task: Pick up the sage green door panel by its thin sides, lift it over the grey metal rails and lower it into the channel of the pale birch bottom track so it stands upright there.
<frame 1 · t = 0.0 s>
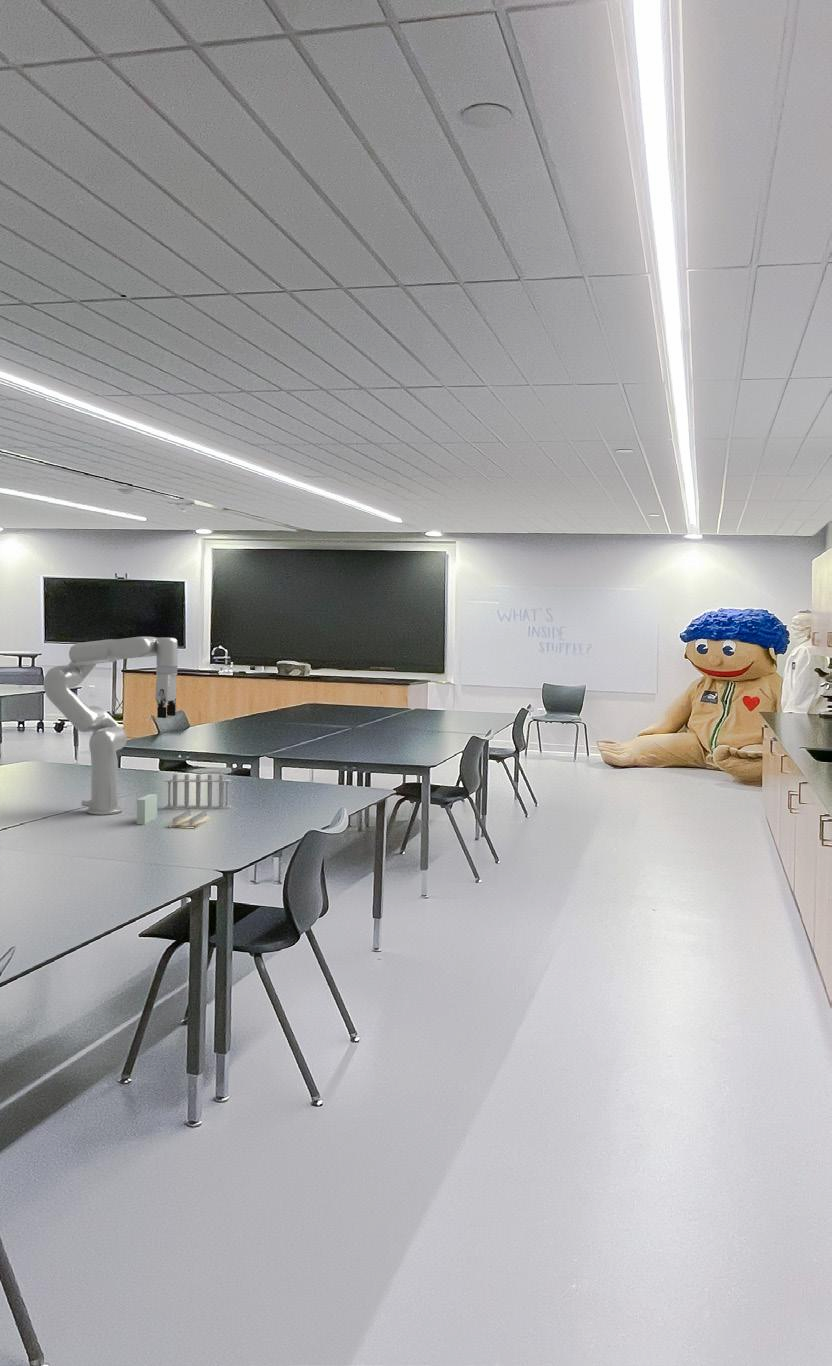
hand: (166, 716, 369), 37 cm above the table, tool pointing down, fingers open, 9 cm apart
door panel: (147, 821, 357), on the table
test tube rack: (198, 808, 386), on the table
bottom track: (190, 823, 355), on the table
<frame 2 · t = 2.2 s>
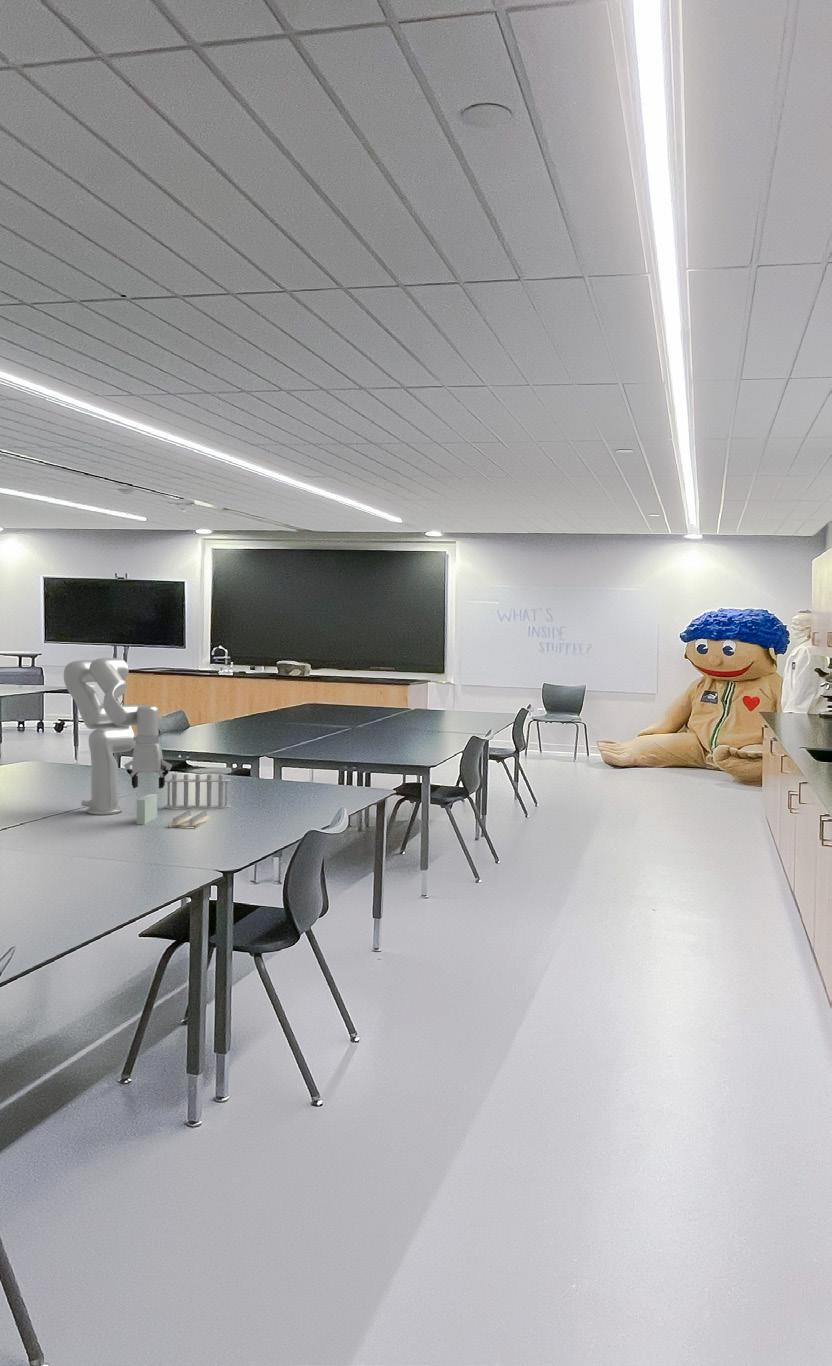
hand: (148, 787, 356), 12 cm above the table, tool pointing down, fingers open, 9 cm apart
nothing on the table moved.
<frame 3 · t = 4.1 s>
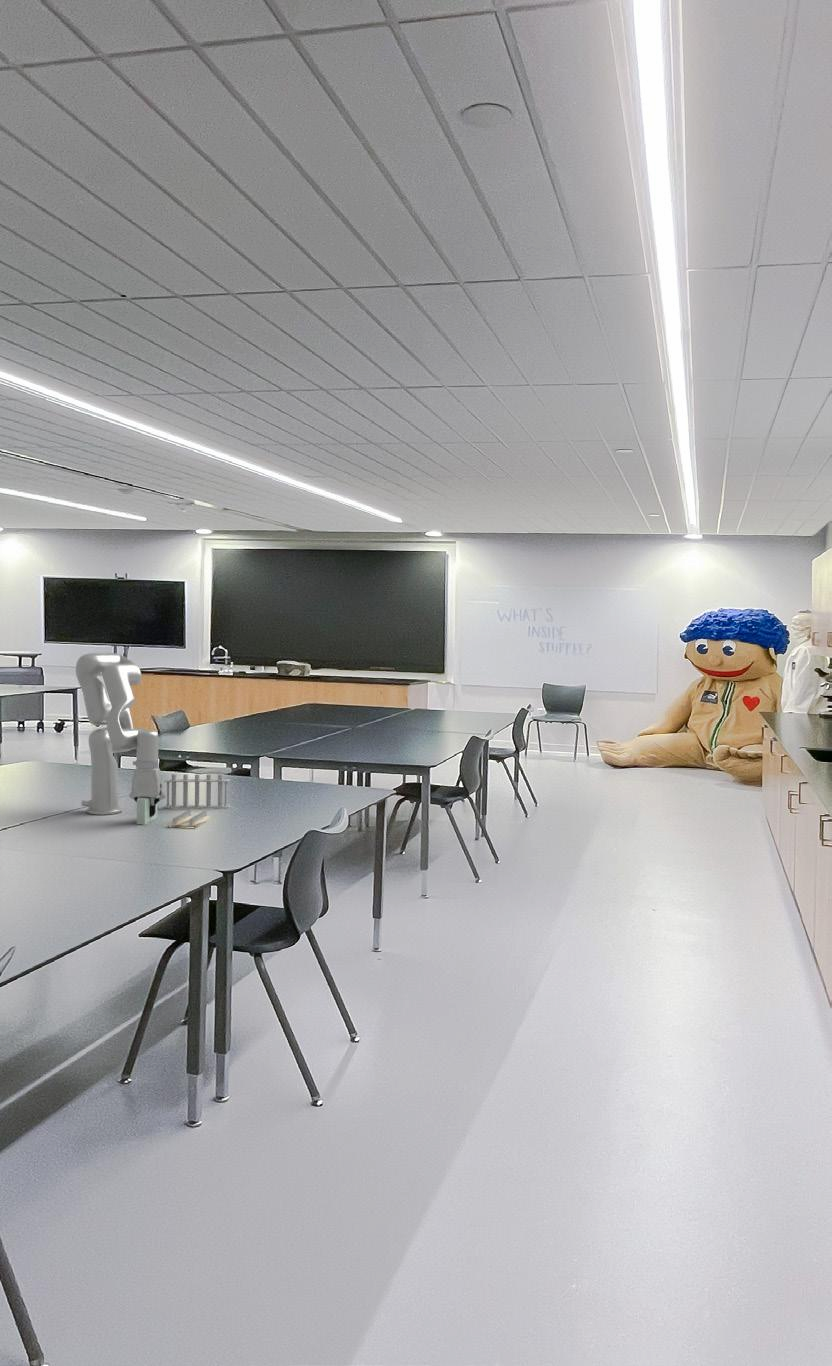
hand: (147, 815, 357), 2 cm above the table, tool pointing down, fingers closed on door panel, 3 cm apart
door panel: (147, 821, 357), on the table, touching gripper
everything else where it was.
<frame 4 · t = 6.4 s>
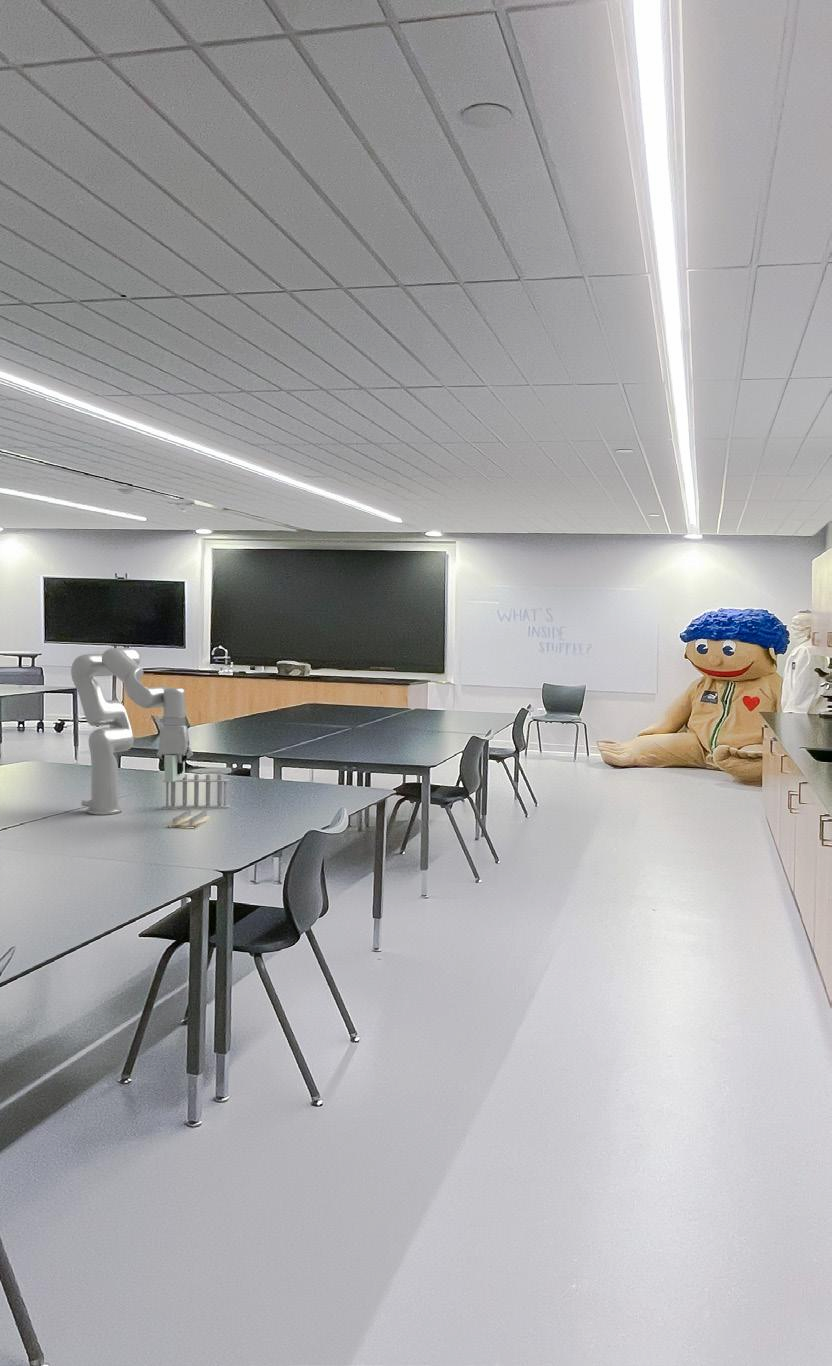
hand: (175, 773, 355), 18 cm above the table, tool pointing down, fingers closed on door panel, 3 cm apart
door panel: (174, 779, 355), point 16 cm above the table, touching gripper
everything else where it was.
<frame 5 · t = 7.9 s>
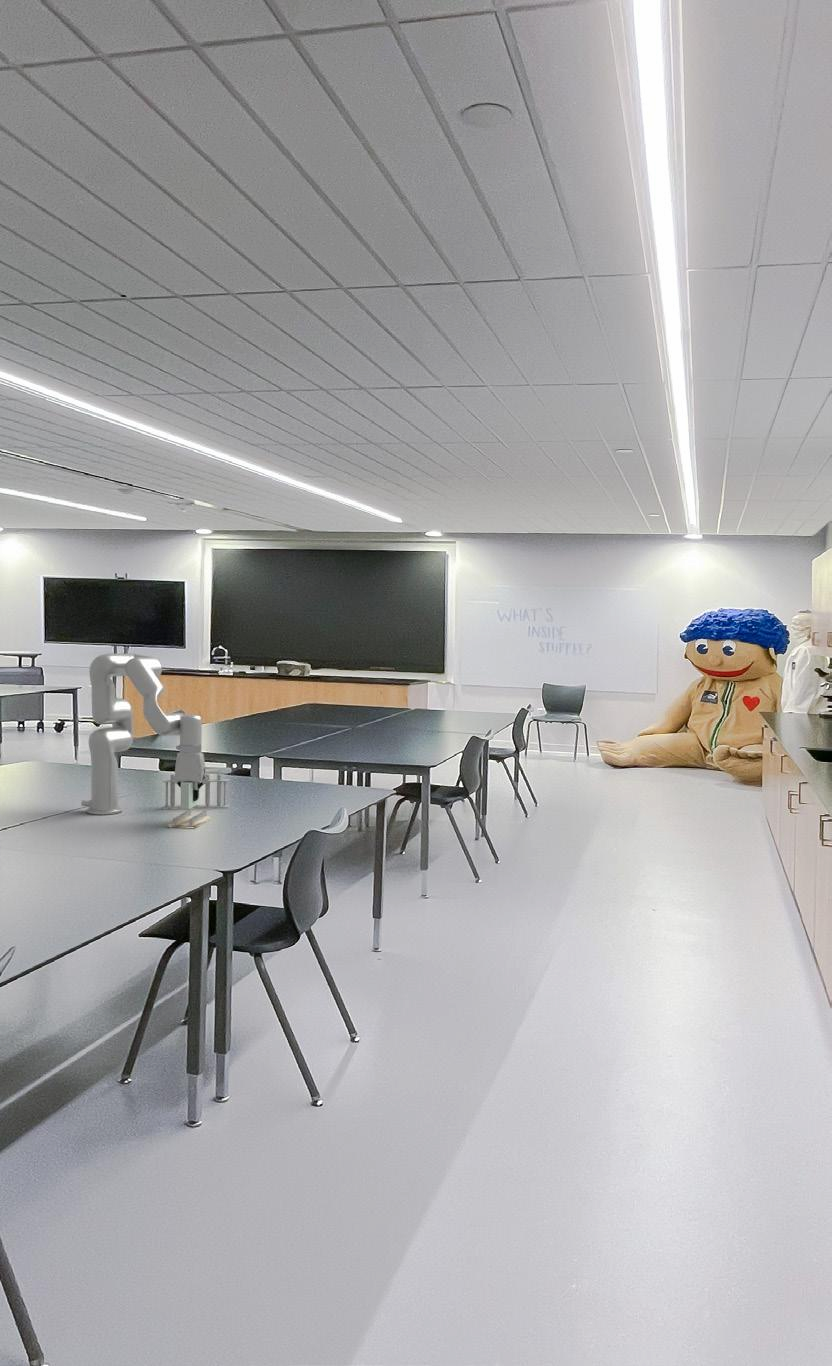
hand: (190, 799, 355), 8 cm above the table, tool pointing down, fingers closed on door panel, 3 cm apart
door panel: (190, 806, 355), point 6 cm above the table, touching gripper
everything else where it was.
when the fingers open (5 cm above the table, at t = 8.9 s): door panel drops 1 cm, resting on bottom track.
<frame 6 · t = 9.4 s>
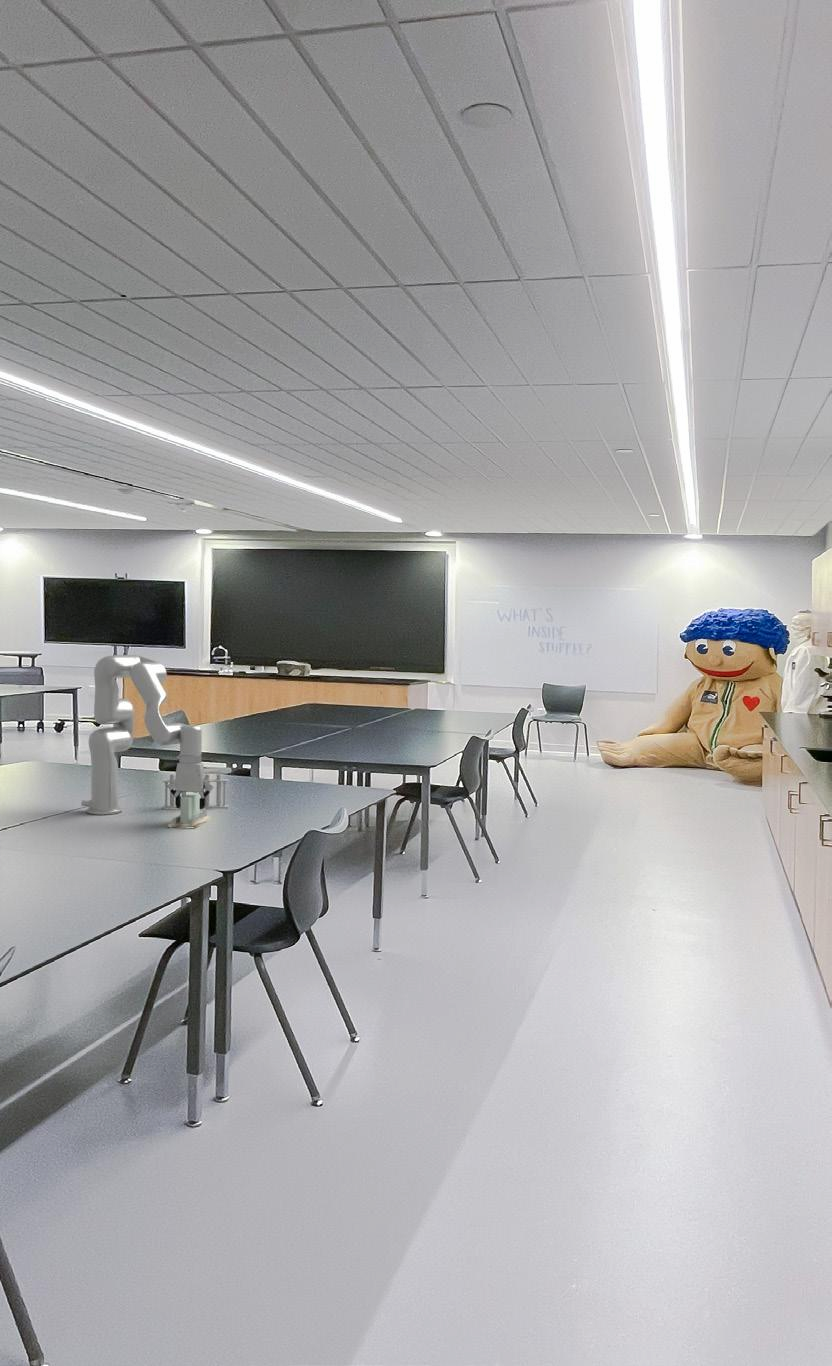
hand: (190, 808, 355), 5 cm above the table, tool pointing down, fingers open, 8 cm apart
door panel: (190, 820, 355), point 1 cm above the table, touching bottom track
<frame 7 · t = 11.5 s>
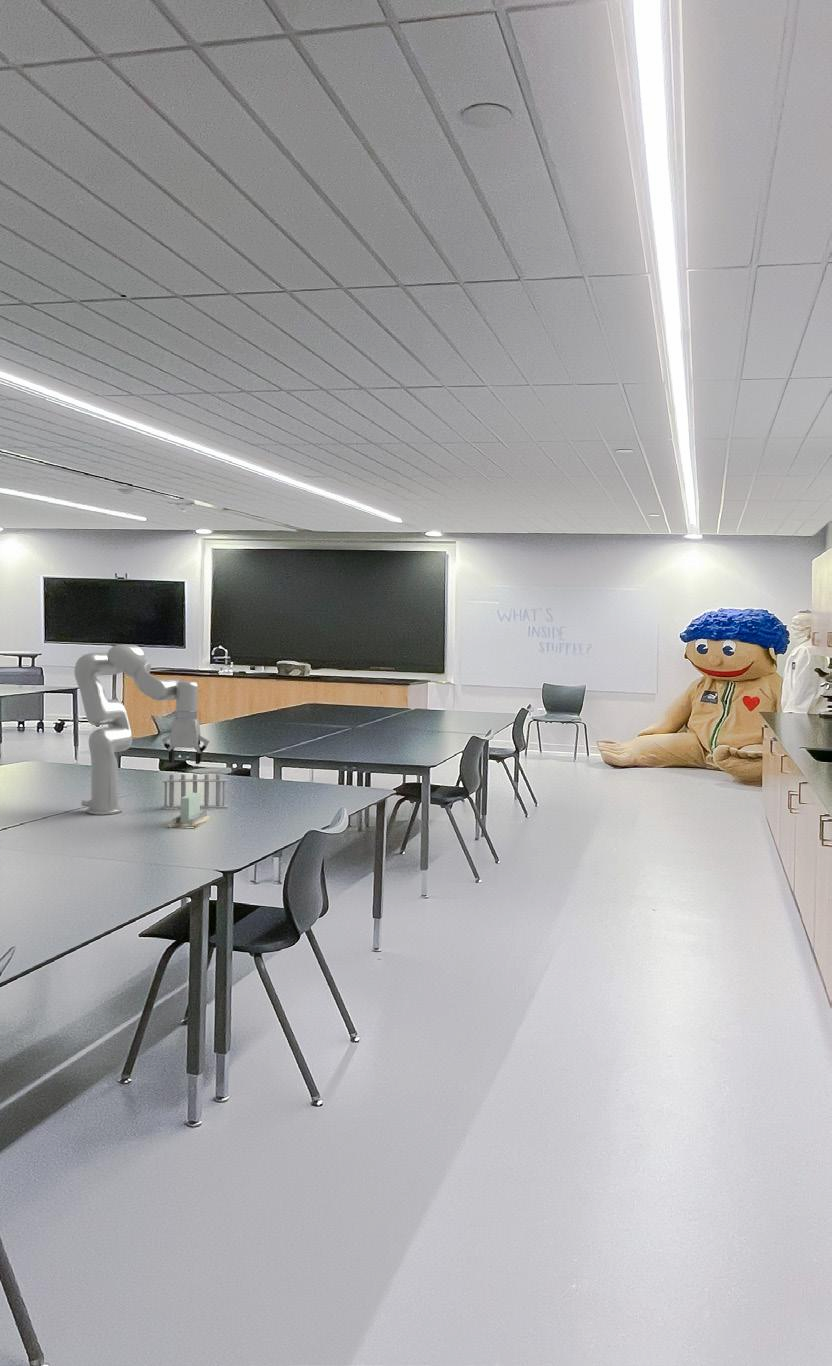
hand: (184, 762, 357), 21 cm above the table, tool pointing down, fingers open, 9 cm apart
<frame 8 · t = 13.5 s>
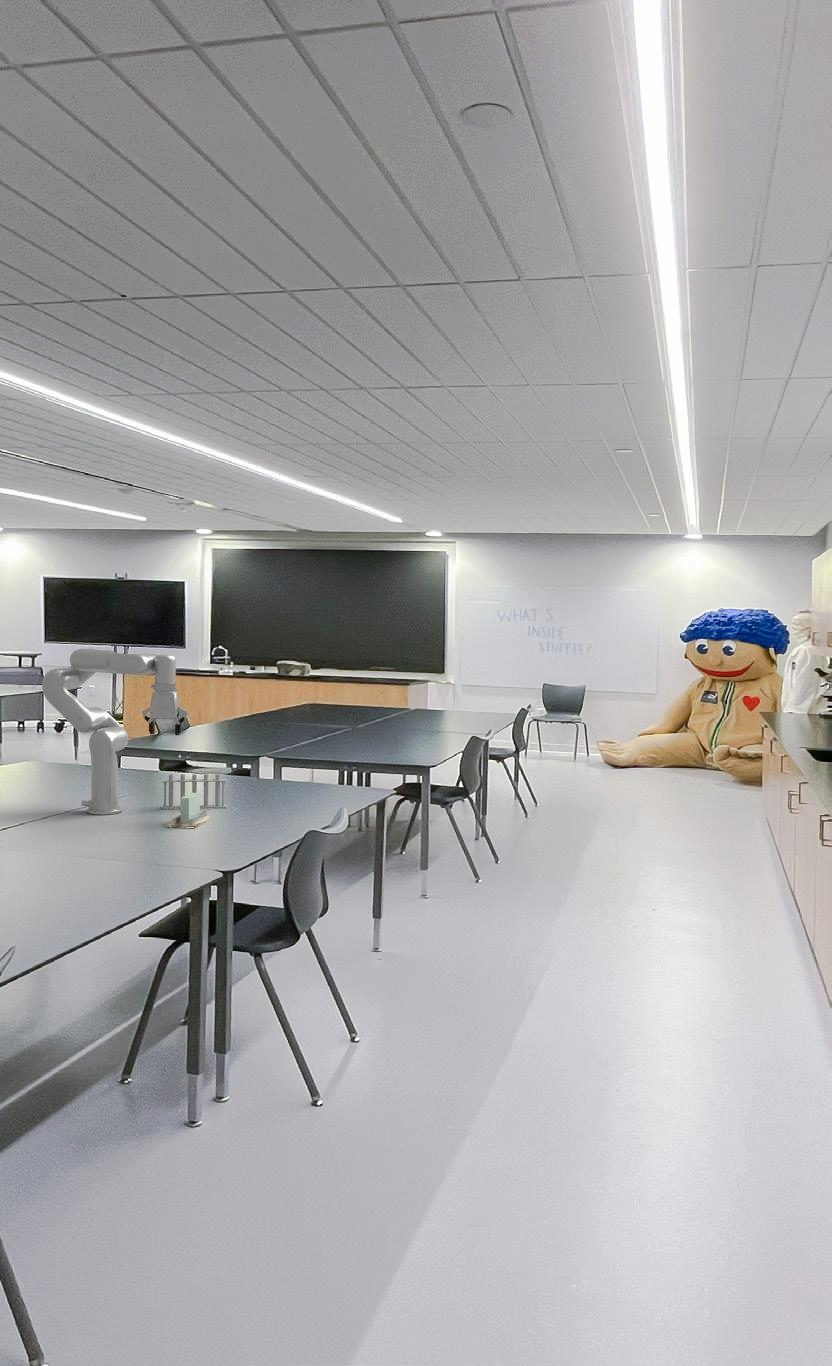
hand: (164, 734, 367), 30 cm above the table, tool pointing down, fingers open, 9 cm apart
at the end: door panel 0.0 cm off-centre on the bottom track, point 1.0 cm above the bottom track's base; door panel tilted 0°; the gripper is holding nothing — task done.
